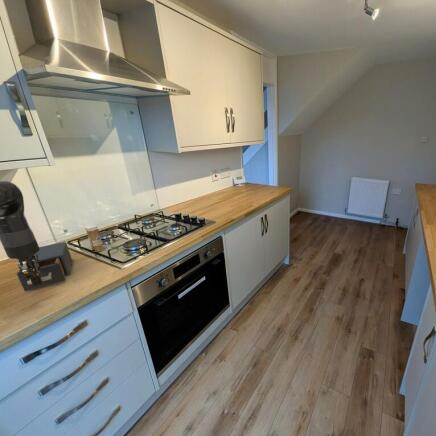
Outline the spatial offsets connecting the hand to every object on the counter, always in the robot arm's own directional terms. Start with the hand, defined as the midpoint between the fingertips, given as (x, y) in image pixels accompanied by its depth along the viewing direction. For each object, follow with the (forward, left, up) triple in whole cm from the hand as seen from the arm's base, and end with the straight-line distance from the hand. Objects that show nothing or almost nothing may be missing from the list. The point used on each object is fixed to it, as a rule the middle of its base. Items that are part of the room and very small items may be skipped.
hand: (38, 284), depth 86 cm
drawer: (0, +11, -5) cm, 12 cm away
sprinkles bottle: (+16, +32, -6) cm, 36 cm away
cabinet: (0, +20, -6) cm, 20 cm away
